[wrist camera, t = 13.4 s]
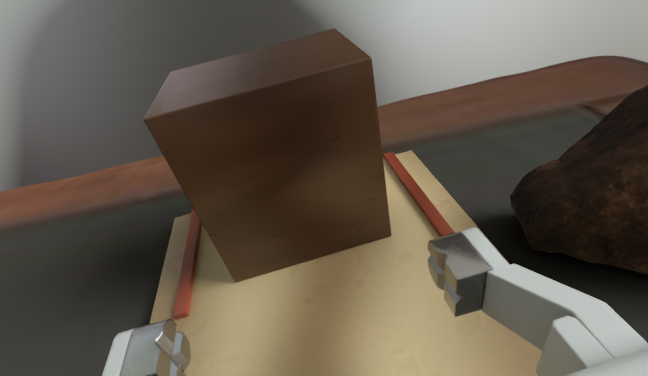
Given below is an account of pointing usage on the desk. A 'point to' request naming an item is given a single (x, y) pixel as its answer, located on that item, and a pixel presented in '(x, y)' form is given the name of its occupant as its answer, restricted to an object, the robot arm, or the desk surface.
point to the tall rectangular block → (278, 151)
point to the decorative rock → (594, 193)
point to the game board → (339, 302)
